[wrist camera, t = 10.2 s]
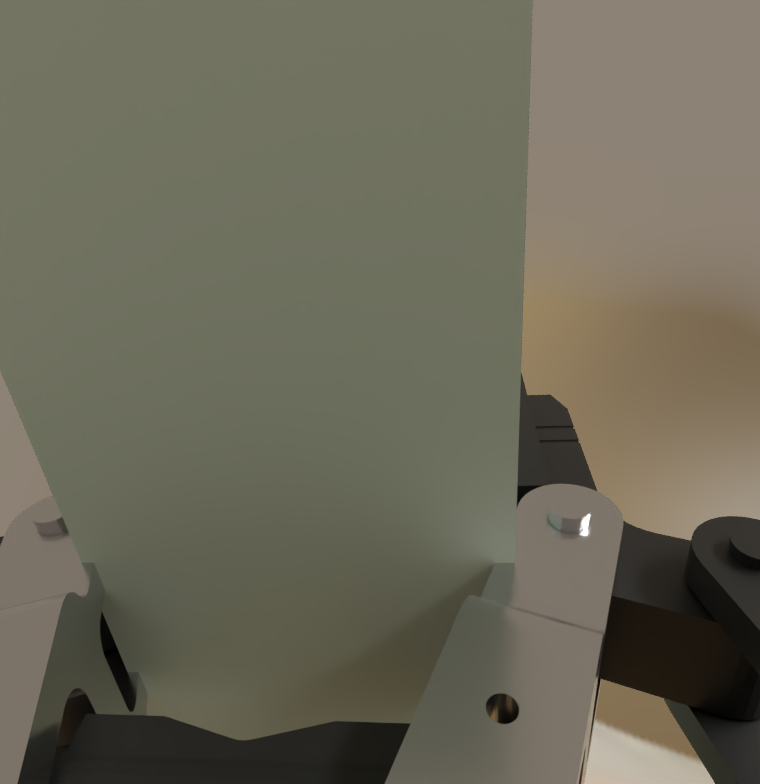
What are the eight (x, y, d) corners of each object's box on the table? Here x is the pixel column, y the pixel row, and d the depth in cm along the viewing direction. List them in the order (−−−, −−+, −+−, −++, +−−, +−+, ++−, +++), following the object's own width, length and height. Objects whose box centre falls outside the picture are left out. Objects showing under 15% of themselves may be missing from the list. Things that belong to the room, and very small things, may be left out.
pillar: (484, 715, 16) (485, -27, 8) (502, 968, 11) (536, -120, 4) (296, 710, 16) (133, 12, 9) (244, 948, 12) (-170, -32, 4)
